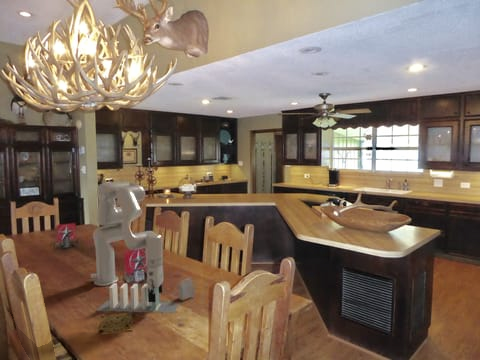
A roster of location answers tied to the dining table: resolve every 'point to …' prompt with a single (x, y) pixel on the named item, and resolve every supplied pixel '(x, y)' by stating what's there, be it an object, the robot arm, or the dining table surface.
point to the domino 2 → (124, 295)
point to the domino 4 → (144, 296)
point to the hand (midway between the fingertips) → (155, 297)
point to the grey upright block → (186, 289)
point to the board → (162, 307)
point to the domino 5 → (156, 303)
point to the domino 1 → (113, 295)
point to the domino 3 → (134, 296)
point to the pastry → (116, 323)
